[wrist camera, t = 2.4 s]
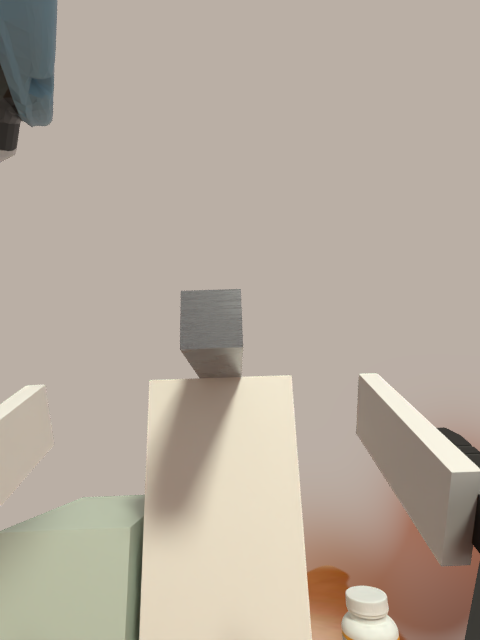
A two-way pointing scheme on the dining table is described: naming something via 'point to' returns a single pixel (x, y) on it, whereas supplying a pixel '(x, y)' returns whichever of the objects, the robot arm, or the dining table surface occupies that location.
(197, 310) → the steel block
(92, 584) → the two-step stand
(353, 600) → the supplement bottle
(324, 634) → the dining table surface
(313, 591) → the dining table surface
